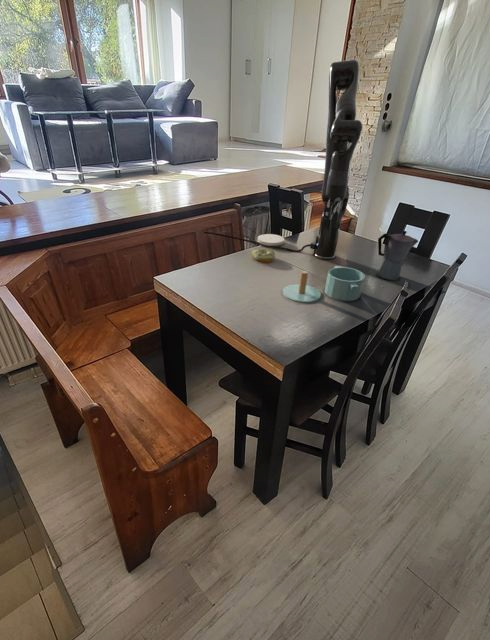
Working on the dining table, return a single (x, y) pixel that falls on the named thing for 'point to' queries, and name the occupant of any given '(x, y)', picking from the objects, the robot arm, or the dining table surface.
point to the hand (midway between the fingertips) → (330, 226)
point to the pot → (344, 283)
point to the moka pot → (395, 254)
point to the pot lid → (302, 291)
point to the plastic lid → (270, 239)
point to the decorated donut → (263, 255)
